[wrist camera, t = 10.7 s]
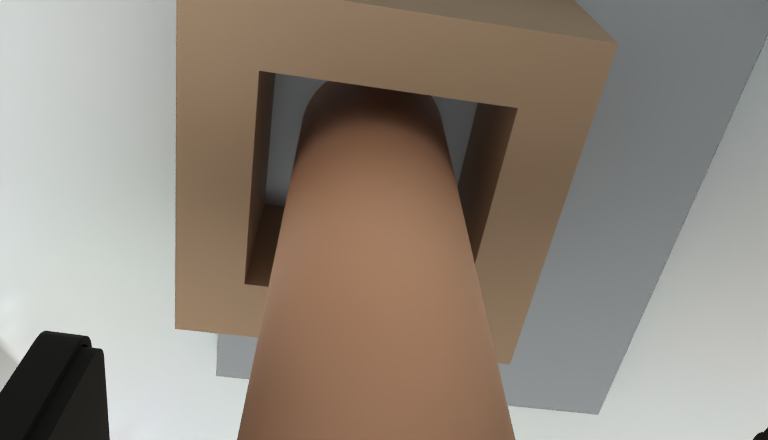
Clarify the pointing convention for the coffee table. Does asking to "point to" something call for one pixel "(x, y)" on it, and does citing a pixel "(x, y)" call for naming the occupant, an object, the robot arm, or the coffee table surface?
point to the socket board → (603, 191)
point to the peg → (374, 286)
